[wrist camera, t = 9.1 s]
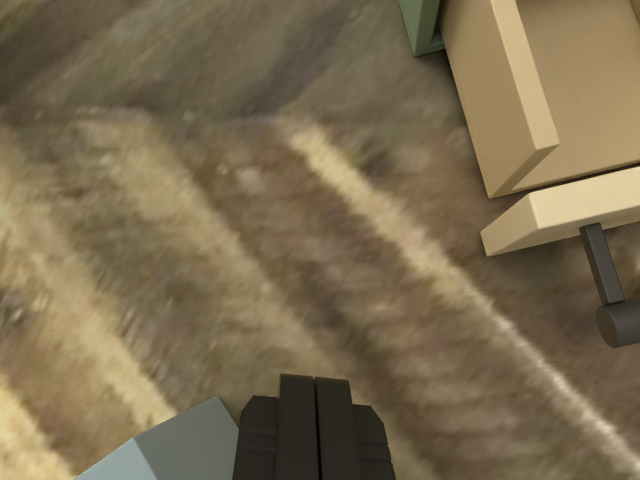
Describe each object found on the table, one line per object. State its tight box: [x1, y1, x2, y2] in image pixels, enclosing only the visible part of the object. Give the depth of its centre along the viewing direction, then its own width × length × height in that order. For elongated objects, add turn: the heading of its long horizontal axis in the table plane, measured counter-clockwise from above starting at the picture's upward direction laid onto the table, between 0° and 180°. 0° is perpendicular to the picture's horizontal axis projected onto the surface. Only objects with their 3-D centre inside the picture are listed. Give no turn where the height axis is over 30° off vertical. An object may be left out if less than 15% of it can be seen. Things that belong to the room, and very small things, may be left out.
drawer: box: [437, 0, 640, 348], centre depth 21 cm, size 18×10×8 cm, turn 13°
